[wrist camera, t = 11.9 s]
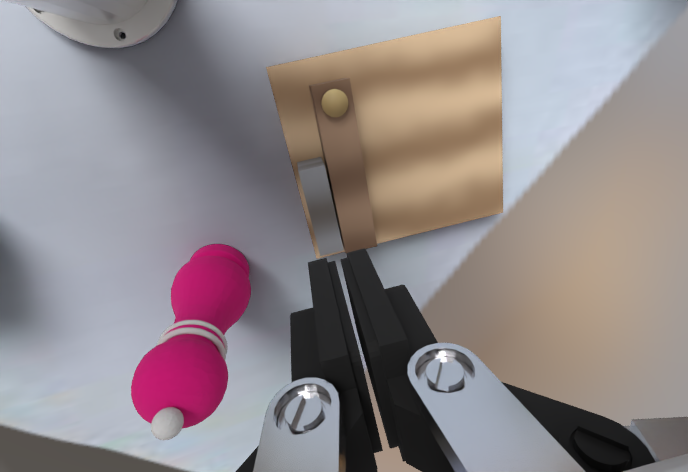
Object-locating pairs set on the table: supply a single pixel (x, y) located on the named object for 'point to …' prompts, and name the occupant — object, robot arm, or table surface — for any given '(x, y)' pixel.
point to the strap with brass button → (344, 162)
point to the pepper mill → (193, 343)
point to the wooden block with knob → (404, 130)
